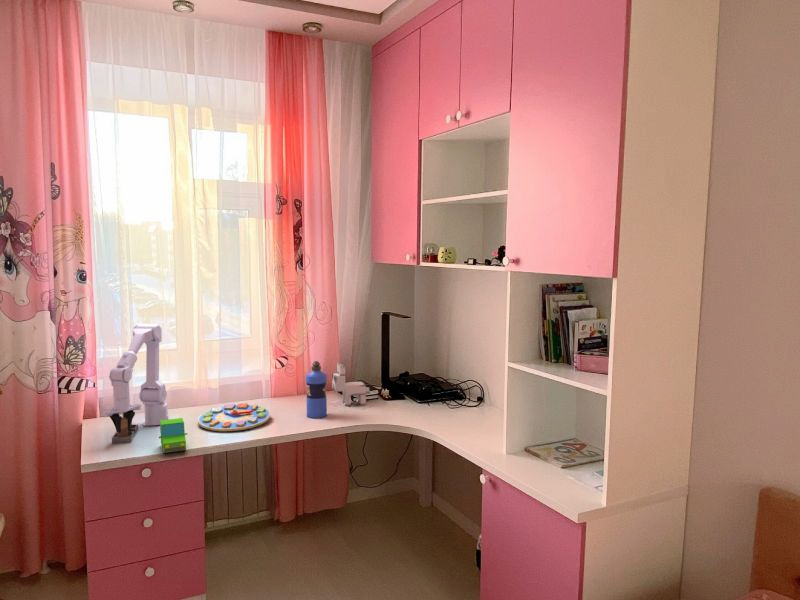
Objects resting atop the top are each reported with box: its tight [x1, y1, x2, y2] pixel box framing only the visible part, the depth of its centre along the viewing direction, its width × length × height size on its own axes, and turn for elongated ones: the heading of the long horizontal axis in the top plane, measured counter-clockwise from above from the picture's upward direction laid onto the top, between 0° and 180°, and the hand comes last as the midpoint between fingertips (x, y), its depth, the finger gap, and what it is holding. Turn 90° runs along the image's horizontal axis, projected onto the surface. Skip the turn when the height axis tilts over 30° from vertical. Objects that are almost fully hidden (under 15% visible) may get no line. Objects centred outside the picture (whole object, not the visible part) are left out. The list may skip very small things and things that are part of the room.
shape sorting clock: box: [197, 402, 271, 432], centre depth 266 cm, size 31×30×6 cm
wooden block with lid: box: [117, 416, 128, 437], centre depth 241 cm, size 3×3×7 cm
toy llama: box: [331, 362, 371, 407], centre depth 296 cm, size 8×18×20 cm, turn 106°
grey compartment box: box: [111, 414, 139, 445], centre depth 246 cm, size 7×17×8 cm, turn 14°
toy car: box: [158, 417, 188, 455], centre depth 230 cm, size 10×13×10 cm
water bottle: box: [305, 360, 328, 420], centre depth 275 cm, size 9×9×25 cm
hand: (122, 430), depth 241 cm, fingers closed on wooden block with lid, 3 cm apart
